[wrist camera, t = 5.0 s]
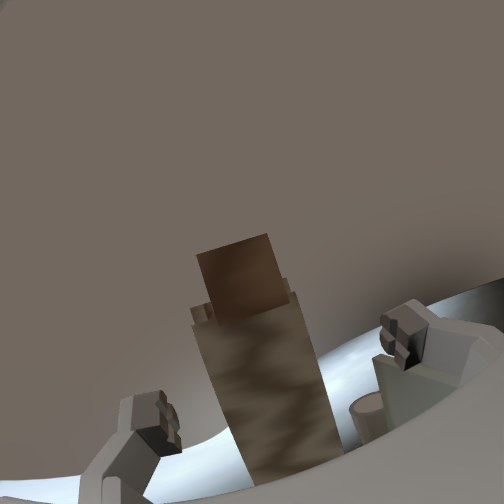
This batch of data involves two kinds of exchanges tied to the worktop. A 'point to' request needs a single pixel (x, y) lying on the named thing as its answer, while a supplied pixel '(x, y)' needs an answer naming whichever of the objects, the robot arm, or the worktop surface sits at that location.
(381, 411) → the grey brown short cylinder
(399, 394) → the block
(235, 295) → the walnut bar
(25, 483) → the worktop surface
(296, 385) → the shelf block
